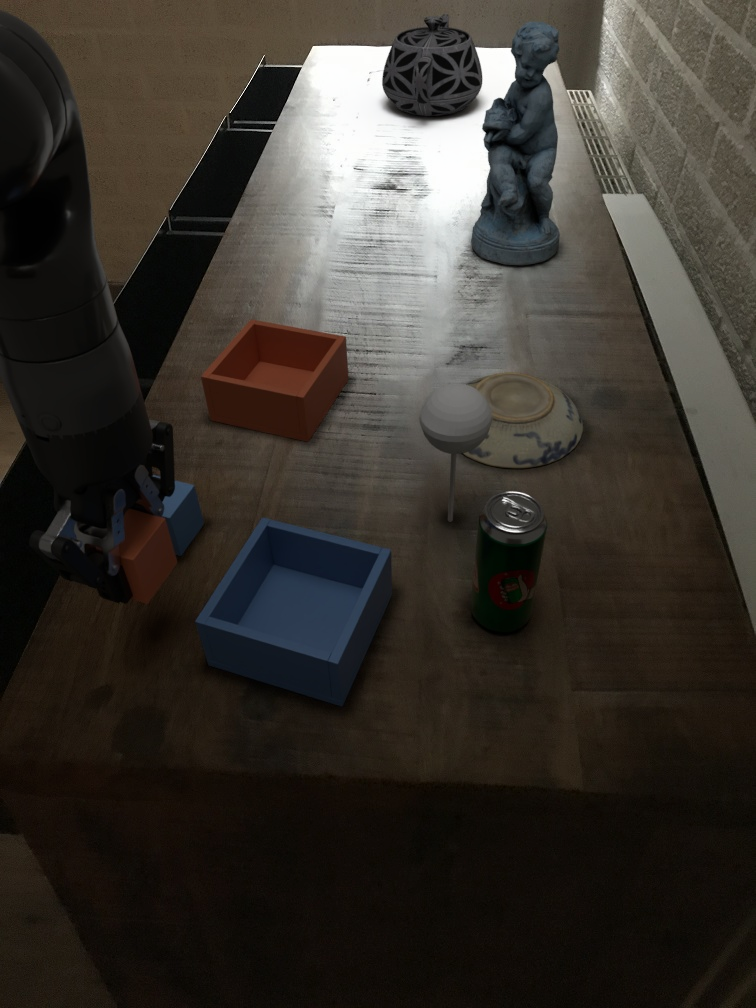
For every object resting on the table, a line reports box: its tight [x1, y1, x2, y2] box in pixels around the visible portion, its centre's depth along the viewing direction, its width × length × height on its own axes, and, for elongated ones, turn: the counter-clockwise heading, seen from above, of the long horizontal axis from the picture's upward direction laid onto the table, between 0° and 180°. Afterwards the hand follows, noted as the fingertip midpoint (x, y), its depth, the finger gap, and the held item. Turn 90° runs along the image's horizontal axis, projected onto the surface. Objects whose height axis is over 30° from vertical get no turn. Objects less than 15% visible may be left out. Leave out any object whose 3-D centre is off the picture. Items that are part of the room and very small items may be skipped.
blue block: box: [153, 474, 205, 557], centre depth 72 cm, size 4×4×5 cm
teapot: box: [381, 13, 483, 117], centre depth 150 cm, size 19×31×15 cm, turn 168°
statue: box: [470, 21, 561, 266], centre depth 104 cm, size 12×23×27 cm, turn 0°
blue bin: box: [194, 516, 393, 708], centre depth 64 cm, size 12×12×6 cm
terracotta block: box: [96, 508, 178, 605], centre depth 59 cm, size 4×4×5 cm
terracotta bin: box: [200, 318, 349, 443], centre depth 86 cm, size 12×12×6 cm
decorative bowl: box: [462, 371, 584, 470], centre depth 83 cm, size 15×4×15 cm
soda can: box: [470, 490, 548, 633], centre depth 63 cm, size 5×5×12 cm
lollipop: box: [418, 382, 492, 523], centre depth 69 cm, size 6×6×15 cm
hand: (137, 573), depth 61 cm, fingers closed on terracotta block, 4 cm apart
